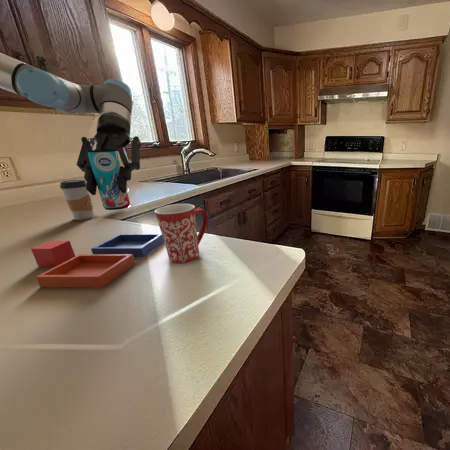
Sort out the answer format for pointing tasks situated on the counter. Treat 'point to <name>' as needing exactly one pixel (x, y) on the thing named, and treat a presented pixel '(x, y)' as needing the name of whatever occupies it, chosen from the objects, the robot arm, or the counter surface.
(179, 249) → the mug
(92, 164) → the beverage can
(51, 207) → the counter surface
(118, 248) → the blue tray
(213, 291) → the counter surface
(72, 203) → the coffee cup
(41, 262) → the red block
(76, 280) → the red tray
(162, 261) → the counter surface
